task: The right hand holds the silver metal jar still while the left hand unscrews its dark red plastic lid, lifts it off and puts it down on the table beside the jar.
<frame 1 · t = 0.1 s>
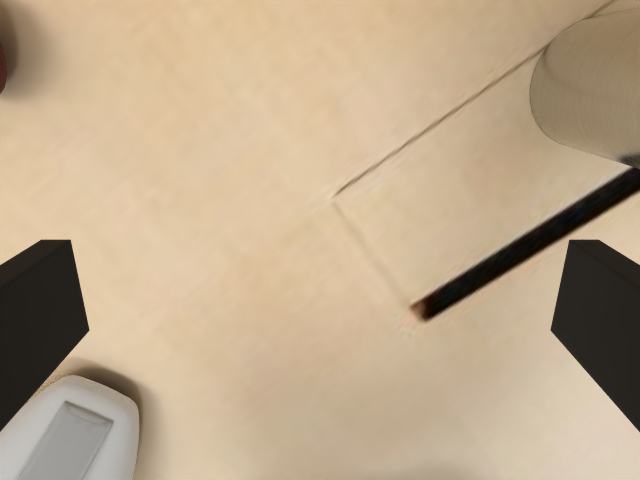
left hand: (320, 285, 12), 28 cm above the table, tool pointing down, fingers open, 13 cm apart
projector: (70, 449, 51), on the table
jar: (592, 84, 37), on the table
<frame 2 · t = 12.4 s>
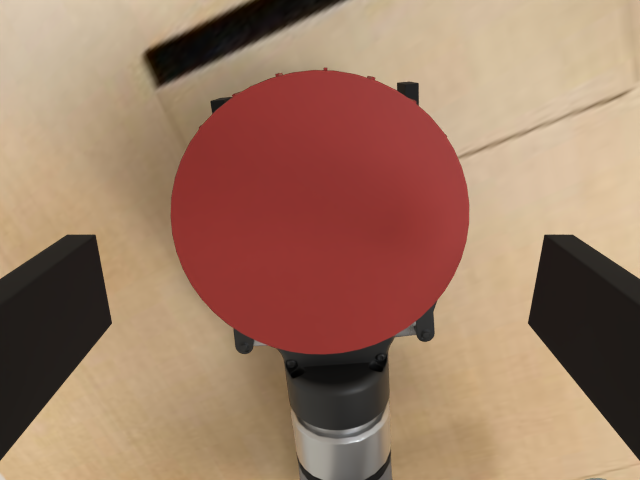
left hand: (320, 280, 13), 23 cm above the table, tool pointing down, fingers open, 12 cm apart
lid: (320, 225, 17), point 18 cm above the table, screwed on, not yet turned
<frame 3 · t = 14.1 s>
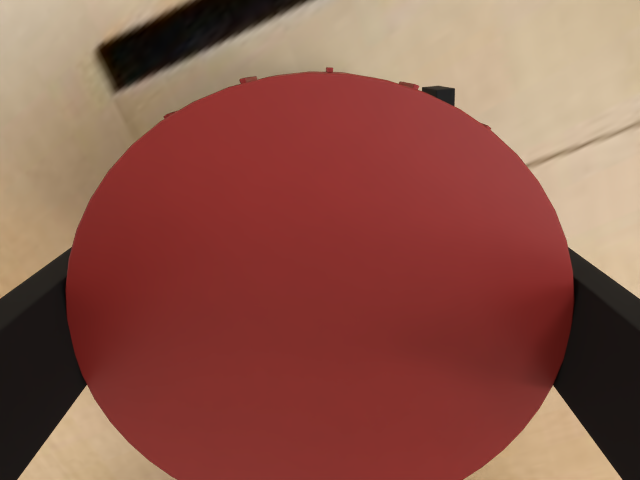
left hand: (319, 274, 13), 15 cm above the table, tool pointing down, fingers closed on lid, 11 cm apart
lid: (319, 330, 10), point 18 cm above the table, screwed on, not yet turned, touching left hand
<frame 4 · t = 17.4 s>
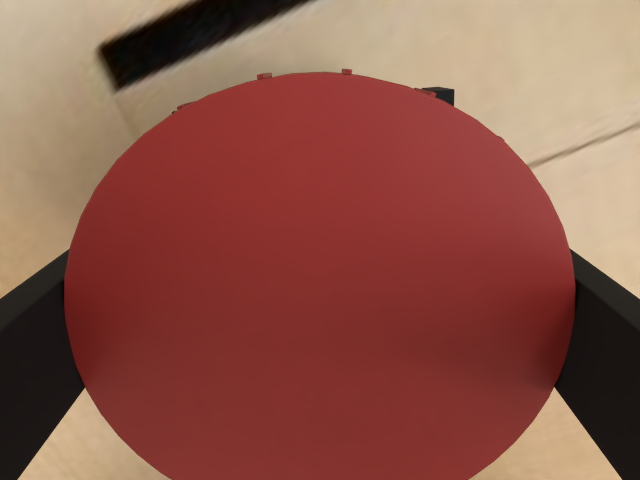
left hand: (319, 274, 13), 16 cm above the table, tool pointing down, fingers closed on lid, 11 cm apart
lid: (319, 332, 10), point 19 cm above the table, turned 117° so far, risen 0.2 cm, still on its thread, touching left hand
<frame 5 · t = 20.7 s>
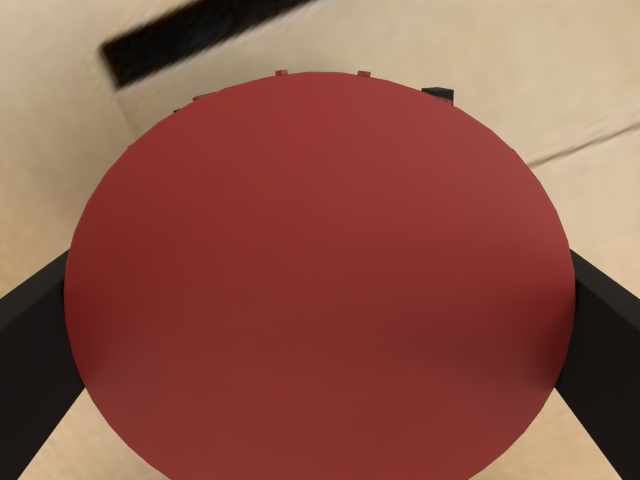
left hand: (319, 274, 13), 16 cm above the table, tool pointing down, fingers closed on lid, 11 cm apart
lid: (319, 332, 10), point 19 cm above the table, turned 233° so far, risen 0.3 cm, still on its thread, touching left hand
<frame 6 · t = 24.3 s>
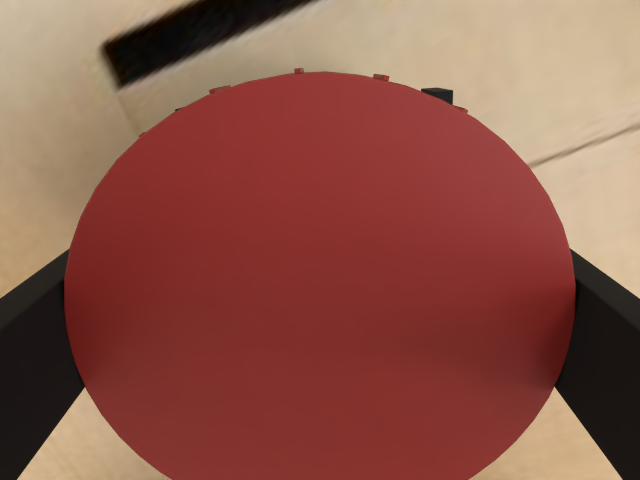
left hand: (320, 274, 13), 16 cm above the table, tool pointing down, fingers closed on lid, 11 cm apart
lid: (319, 332, 10), point 19 cm above the table, turned 350° so far, risen 0.5 cm, still on its thread, touching left hand
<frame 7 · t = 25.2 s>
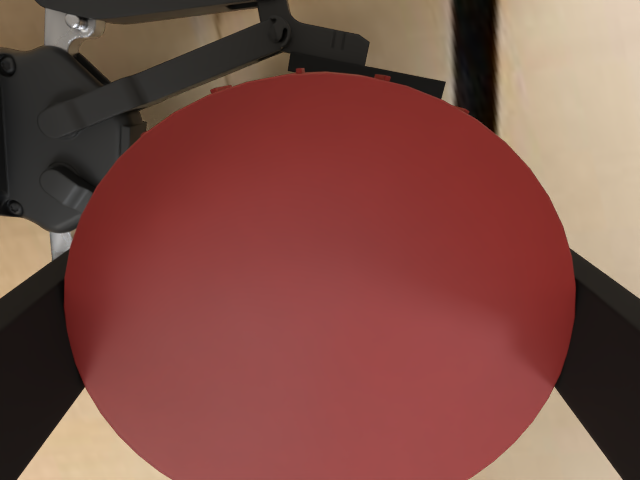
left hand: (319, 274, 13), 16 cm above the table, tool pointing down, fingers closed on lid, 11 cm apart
right hand: (405, 205, 22), fingers closed on jar, 10 cm apart
lid: (319, 332, 10), point 19 cm above the table, off its thread, touching left hand
when the left hand's fingers open (0 cm above the table, at t = 31.8 s): lid drops 1 cm, point 2 cm above the table.
when the right hand's fingers open (7 cm above the table, at t = 32.8 s): jar stays where it is, on the table.
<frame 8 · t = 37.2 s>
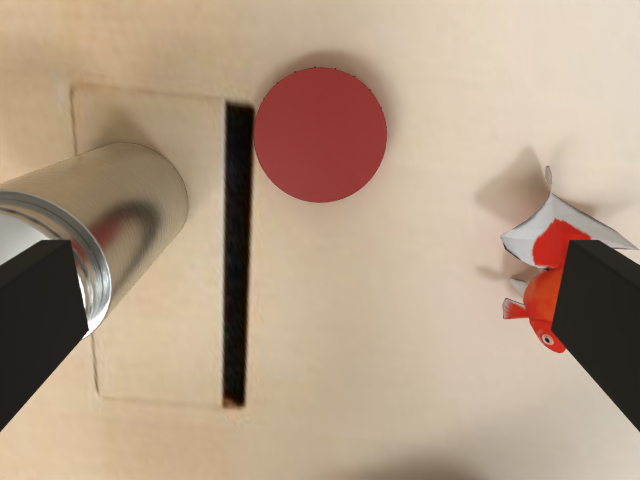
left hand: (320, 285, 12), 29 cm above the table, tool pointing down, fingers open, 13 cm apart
fish: (530, 243, 43), on the table
lid: (320, 138, 37), point 2 cm above the table, off its thread
jar: (132, 198, 41), on the table
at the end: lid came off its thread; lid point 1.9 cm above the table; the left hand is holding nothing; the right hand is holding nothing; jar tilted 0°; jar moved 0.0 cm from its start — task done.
